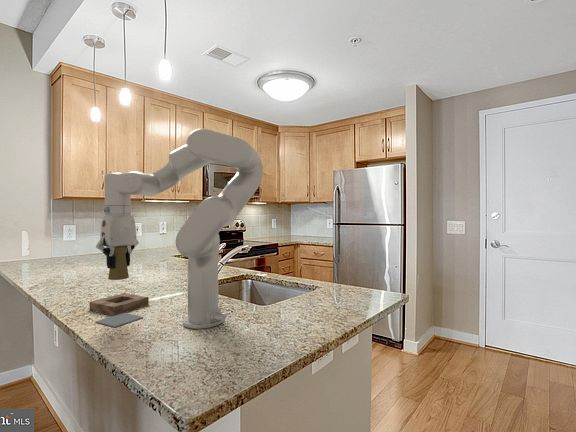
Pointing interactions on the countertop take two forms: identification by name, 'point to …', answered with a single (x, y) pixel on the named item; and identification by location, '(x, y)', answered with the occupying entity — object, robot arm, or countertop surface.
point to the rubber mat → (119, 320)
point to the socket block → (118, 304)
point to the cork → (119, 264)
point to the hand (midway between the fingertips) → (118, 266)
